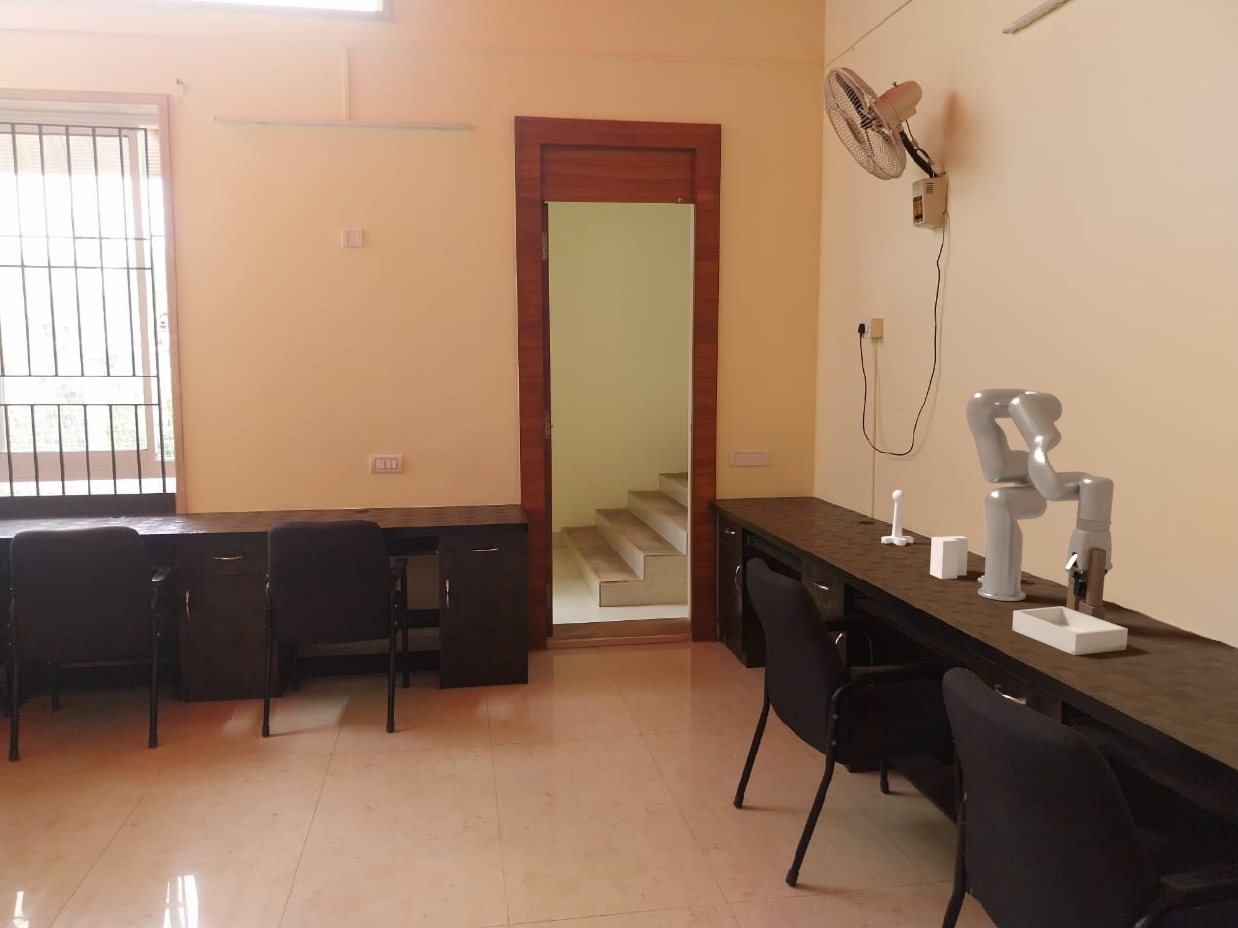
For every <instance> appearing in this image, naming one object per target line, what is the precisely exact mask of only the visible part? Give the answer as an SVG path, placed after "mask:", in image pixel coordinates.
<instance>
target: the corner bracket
mask: <svg viewBox="0 0 1238 928" xmlns="http://www.w3.org/2000/svg"><path fill="white" fill-rule="evenodd" d="M968 545H969V537H966V536H963V535H955V536H953V535H952V536H950V535H949V536H932V537H931V545H930V566H929V567H930V568H929V575H931V576H932V577H933V576H934V577H936V578H938V579H940V580H950V579H951V580H953V579H958V576H967V572H968V571H967V569H968V568H967V567H968V566H967V565H968V551H969V550H968V548H969V547H968Z"/></svg>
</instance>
